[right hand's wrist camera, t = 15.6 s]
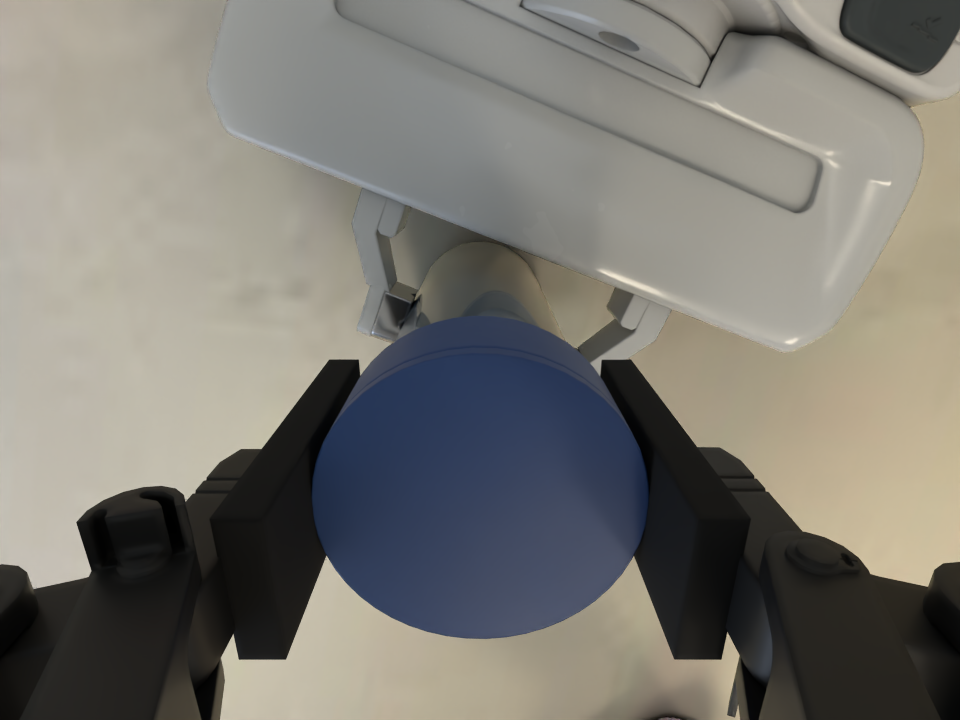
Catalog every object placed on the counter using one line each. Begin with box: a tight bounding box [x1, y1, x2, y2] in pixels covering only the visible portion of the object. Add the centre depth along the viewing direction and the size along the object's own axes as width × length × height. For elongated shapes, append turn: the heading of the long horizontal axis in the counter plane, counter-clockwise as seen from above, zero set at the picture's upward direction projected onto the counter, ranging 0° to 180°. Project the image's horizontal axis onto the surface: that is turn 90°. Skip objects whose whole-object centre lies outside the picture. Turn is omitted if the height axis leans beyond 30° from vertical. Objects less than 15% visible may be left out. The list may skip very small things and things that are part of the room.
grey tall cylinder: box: [395, 241, 565, 341], centre depth 18 cm, size 6×6×16 cm
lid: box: [311, 316, 649, 639], centre depth 11 cm, size 6×6×2 cm
